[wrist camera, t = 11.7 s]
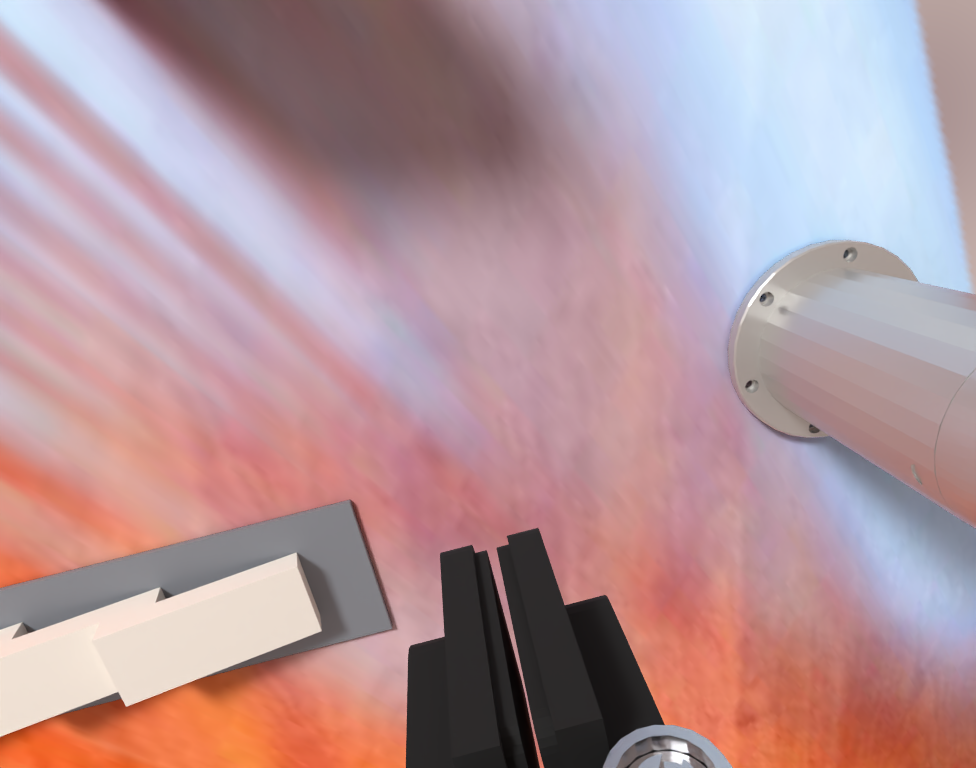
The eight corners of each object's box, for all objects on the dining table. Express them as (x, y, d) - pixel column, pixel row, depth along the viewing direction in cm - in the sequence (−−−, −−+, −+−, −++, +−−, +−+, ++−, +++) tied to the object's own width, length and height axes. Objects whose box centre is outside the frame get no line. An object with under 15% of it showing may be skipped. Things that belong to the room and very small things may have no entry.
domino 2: (297, 566, 40) (91, 640, 38) (321, 631, 42) (126, 706, 39) (296, 552, 42) (99, 622, 39) (320, 615, 44) (132, 686, 41)
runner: (350, 499, 42) (349, 502, 41) (392, 625, 45) (392, 628, 45) (-307, 665, 41) (-314, 670, 40) (-216, 781, 44) (-222, 787, 44)
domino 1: (155, 602, 40) (-62, 679, 38) (185, 666, 42) (-21, 744, 39) (160, 587, 42) (-47, 659, 39) (189, 648, 43) (-8, 722, 41)
